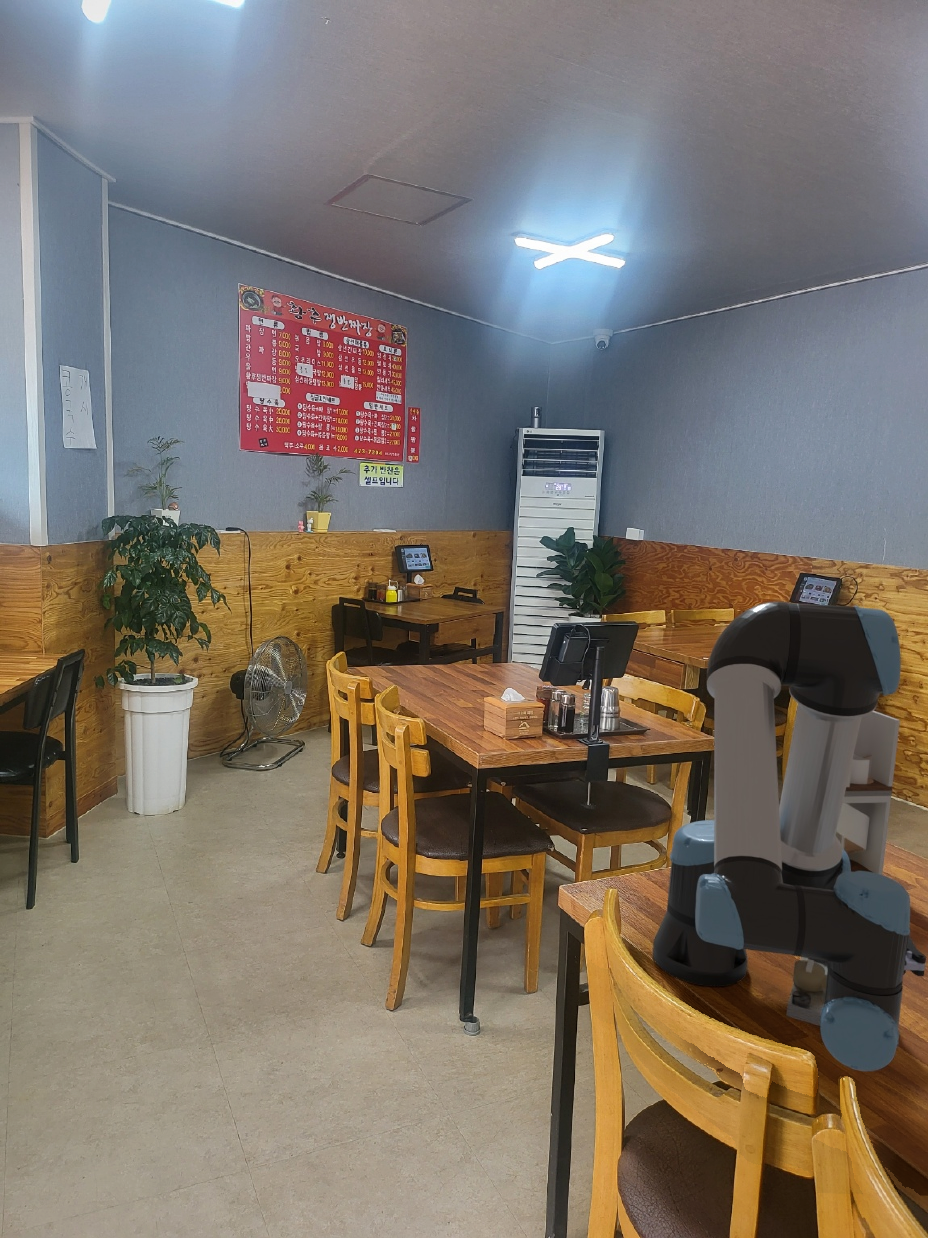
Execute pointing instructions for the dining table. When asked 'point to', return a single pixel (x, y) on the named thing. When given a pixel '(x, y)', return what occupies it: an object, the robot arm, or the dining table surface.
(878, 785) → the white shelving unit
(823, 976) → the blue and beige lever
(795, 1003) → the bolted mounting base
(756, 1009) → the dining table surface
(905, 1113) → the dining table surface
